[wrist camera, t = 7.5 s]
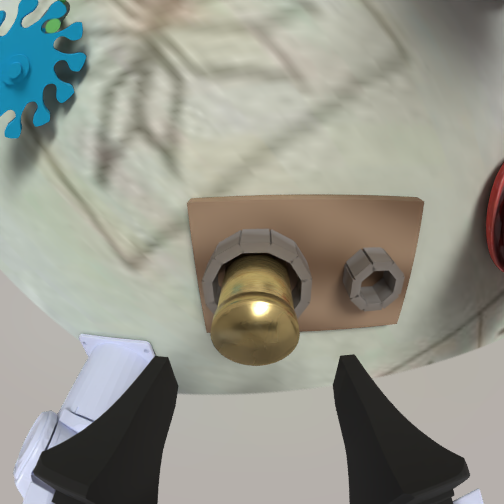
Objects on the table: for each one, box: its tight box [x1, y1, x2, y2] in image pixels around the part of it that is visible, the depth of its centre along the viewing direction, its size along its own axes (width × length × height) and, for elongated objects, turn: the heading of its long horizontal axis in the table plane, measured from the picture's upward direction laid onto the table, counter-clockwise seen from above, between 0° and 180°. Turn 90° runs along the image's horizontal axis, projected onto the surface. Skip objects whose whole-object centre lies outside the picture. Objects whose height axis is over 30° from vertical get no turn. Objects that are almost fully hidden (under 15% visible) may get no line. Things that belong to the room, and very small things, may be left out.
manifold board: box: [187, 195, 424, 333], centre depth 18 cm, size 10×15×3 cm, turn 92°
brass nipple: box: [211, 253, 300, 366], centre depth 16 cm, size 4×4×6 cm
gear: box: [0, 0, 86, 138], centre depth 11 cm, size 11×6×10 cm
